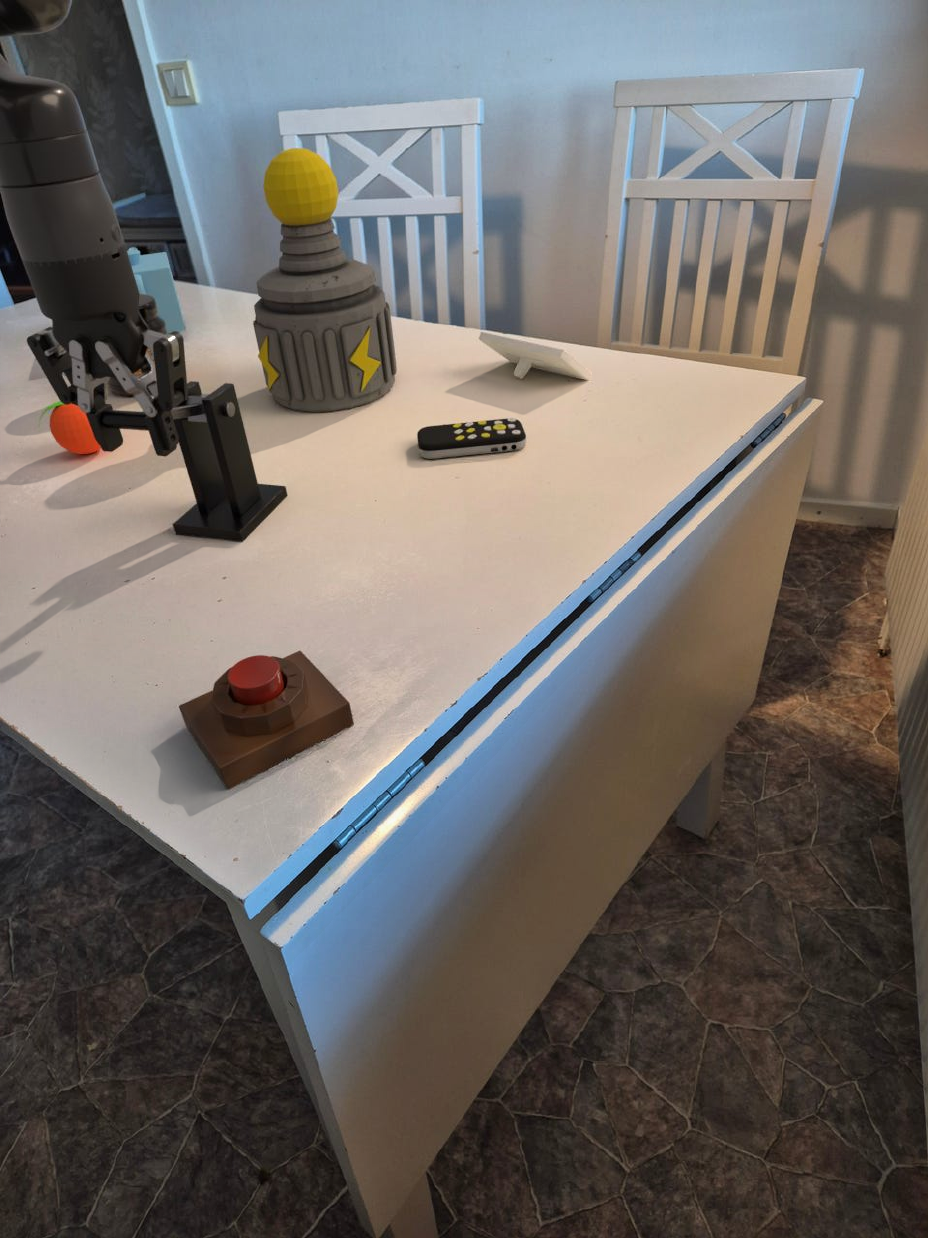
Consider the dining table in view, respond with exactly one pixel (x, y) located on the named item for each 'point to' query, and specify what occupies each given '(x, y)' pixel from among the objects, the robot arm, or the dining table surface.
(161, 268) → the pale blue pillar
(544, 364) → the white picture frame
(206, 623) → the dining table surface
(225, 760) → the button block
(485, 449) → the remote control
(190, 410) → the lever
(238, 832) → the dining table surface
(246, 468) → the bracket
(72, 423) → the clementine
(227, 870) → the dining table surface
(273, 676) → the button
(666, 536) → the dining table surface
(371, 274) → the decorative lamp
